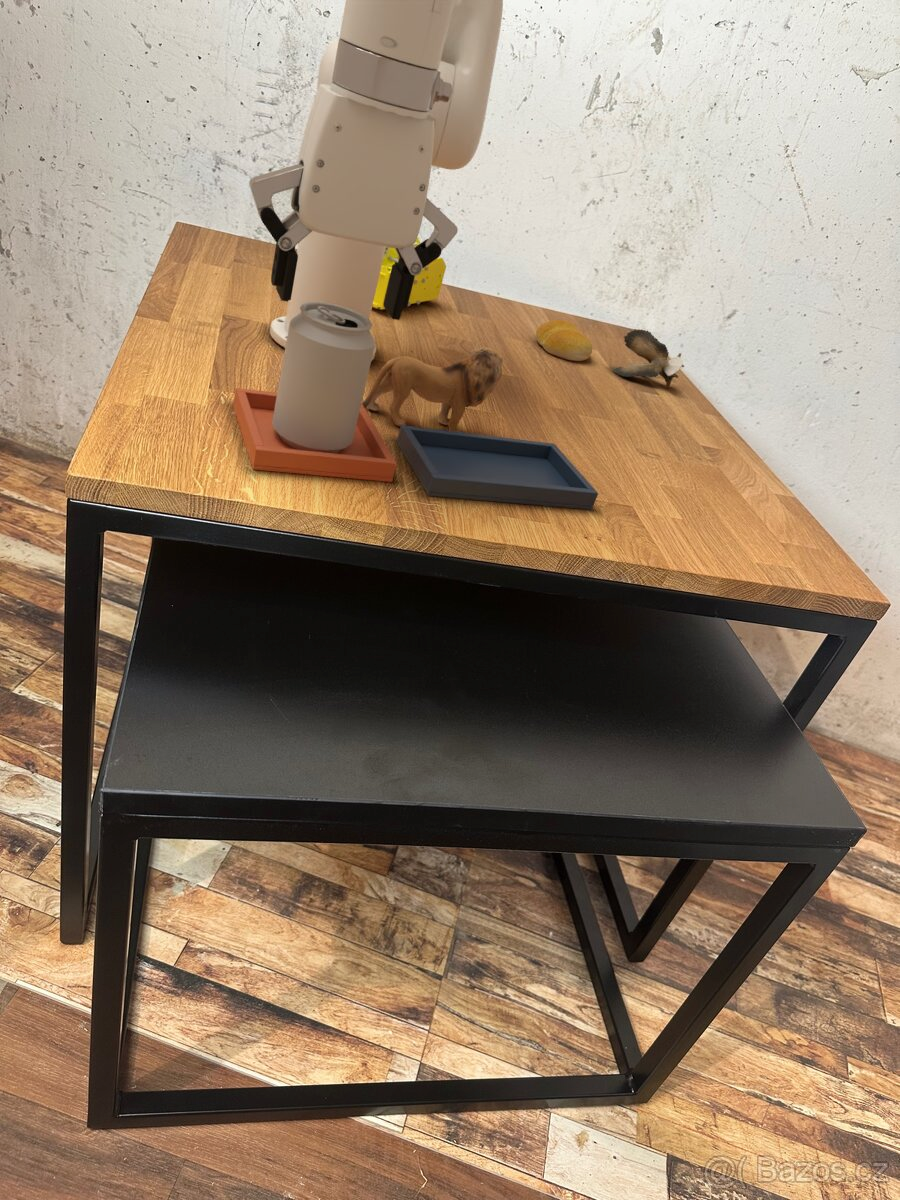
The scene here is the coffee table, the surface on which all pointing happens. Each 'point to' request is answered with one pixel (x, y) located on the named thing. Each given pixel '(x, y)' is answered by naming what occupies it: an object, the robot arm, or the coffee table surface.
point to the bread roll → (564, 340)
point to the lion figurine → (438, 384)
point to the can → (323, 377)
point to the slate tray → (494, 469)
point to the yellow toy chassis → (424, 283)
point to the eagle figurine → (650, 357)
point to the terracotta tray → (274, 454)
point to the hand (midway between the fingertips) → (338, 304)
